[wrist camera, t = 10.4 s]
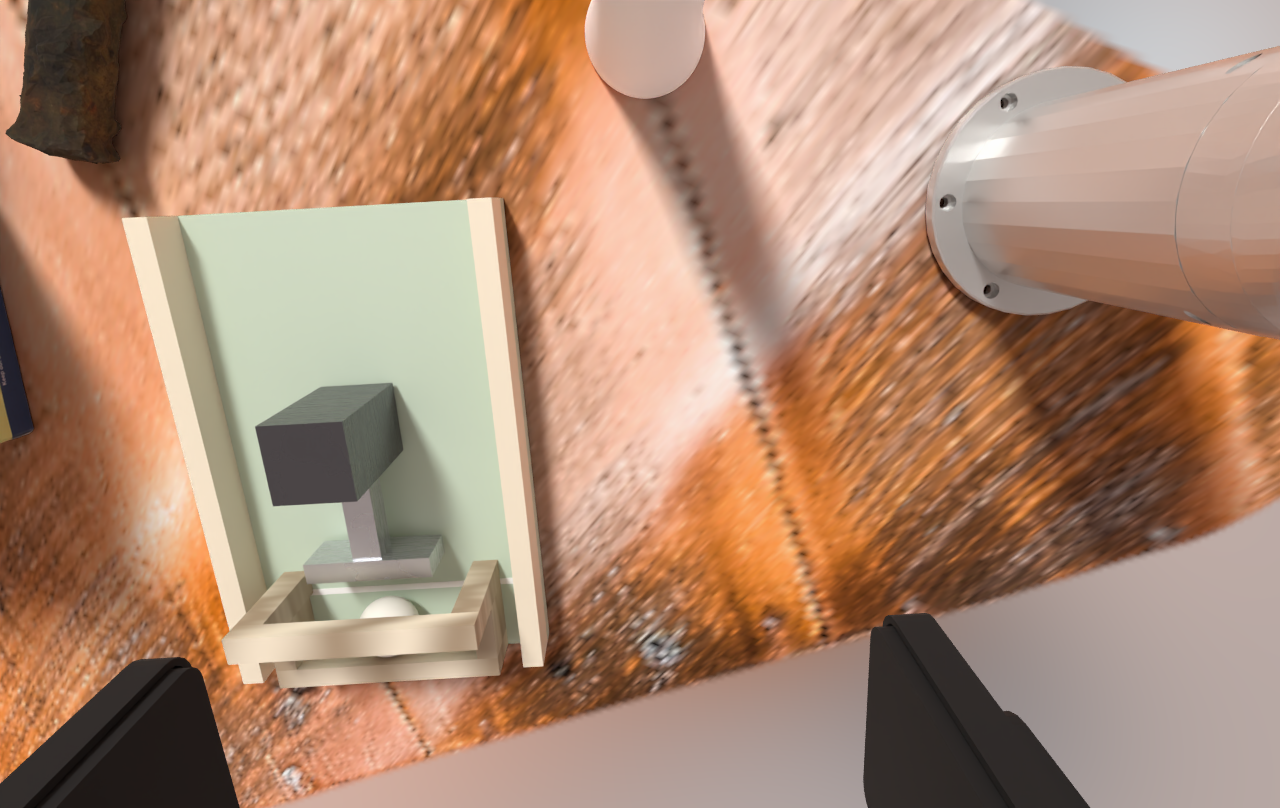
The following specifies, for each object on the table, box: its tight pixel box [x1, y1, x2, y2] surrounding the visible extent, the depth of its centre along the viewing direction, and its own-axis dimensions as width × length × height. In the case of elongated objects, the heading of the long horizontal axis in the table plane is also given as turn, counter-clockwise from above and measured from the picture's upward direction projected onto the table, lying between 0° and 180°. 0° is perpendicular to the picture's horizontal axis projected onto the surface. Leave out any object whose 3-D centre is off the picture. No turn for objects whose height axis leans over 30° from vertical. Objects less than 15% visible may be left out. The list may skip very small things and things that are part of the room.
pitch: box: [122, 198, 549, 684], centre depth 39 cm, size 18×27×3 cm, turn 3°
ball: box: [360, 596, 419, 657], centre depth 41 cm, size 4×4×4 cm
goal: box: [222, 560, 508, 688], centre depth 39 cm, size 13×6×7 cm, turn 93°
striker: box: [255, 383, 445, 584], centre depth 36 cm, size 7×11×7 cm, turn 3°
